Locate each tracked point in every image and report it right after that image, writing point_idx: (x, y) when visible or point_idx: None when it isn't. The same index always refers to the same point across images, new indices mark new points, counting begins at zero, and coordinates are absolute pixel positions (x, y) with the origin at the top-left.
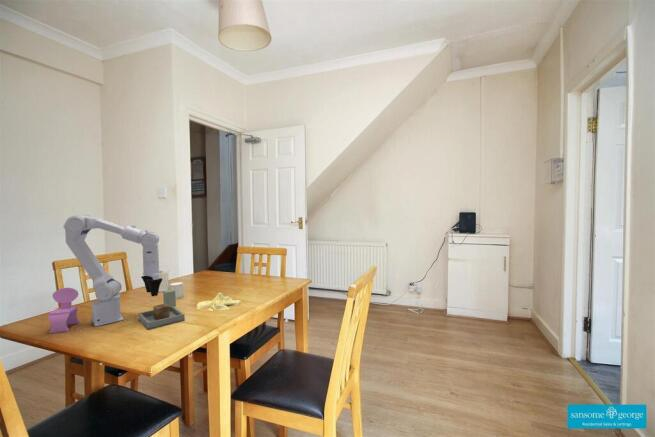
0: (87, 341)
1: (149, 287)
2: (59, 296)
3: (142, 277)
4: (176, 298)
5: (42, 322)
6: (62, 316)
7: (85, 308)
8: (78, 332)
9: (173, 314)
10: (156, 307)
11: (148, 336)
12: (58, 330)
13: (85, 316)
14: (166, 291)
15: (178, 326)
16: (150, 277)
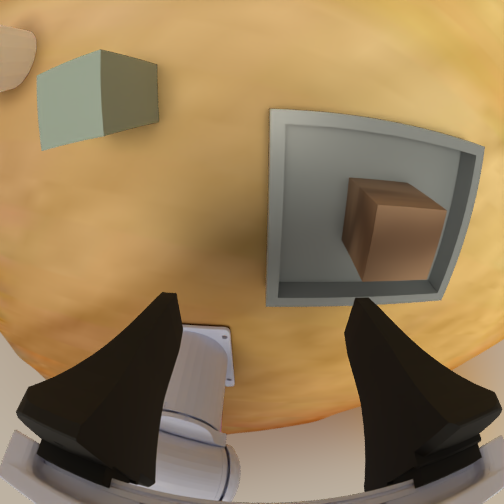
0: (347, 394)
1: (364, 413)
2: None
3: (152, 484)
4: (32, 60)
5: None
6: None
7: (35, 347)
8: (252, 403)
9: (368, 140)
10: (404, 275)
11: (469, 292)
12: None
13: None
14: (67, 125)
15: (491, 193)
16: (125, 447)
